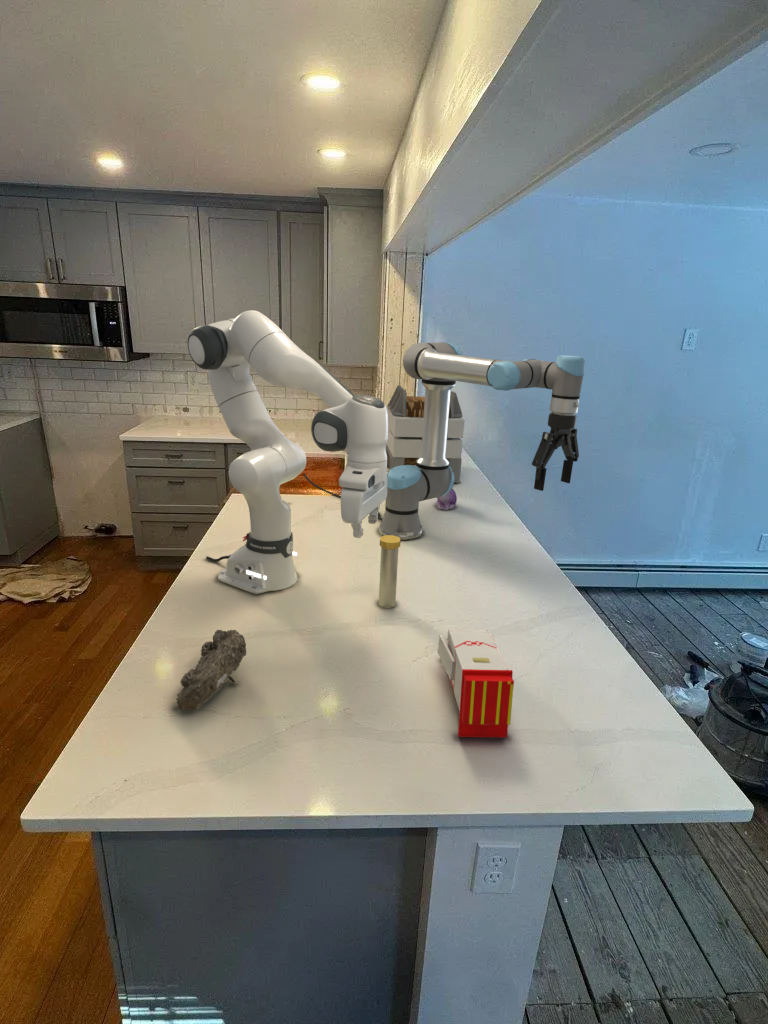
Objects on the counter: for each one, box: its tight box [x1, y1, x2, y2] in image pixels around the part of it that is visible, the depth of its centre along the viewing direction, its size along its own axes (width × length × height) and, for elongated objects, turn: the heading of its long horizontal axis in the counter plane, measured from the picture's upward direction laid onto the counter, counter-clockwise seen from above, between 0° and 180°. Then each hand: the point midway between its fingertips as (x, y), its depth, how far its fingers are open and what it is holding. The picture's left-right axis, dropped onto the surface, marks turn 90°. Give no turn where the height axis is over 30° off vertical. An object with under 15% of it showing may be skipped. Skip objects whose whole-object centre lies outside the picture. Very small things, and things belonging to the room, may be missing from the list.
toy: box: [437, 628, 515, 738], centre depth 117 cm, size 12×13×30 cm
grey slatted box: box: [386, 384, 465, 484], centre depth 268 cm, size 34×33×41 cm
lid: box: [379, 535, 402, 549], centre depth 146 cm, size 5×5×2 cm
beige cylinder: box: [378, 546, 400, 609], centre depth 149 cm, size 4×4×18 cm
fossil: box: [175, 629, 247, 711], centre depth 117 cm, size 22×10×15 cm
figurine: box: [435, 486, 458, 511], centre depth 227 cm, size 9×10×15 cm
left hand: (365, 529), depth 130 cm, fingers open, 8 cm apart
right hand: (552, 485), depth 166 cm, fingers open, 13 cm apart
